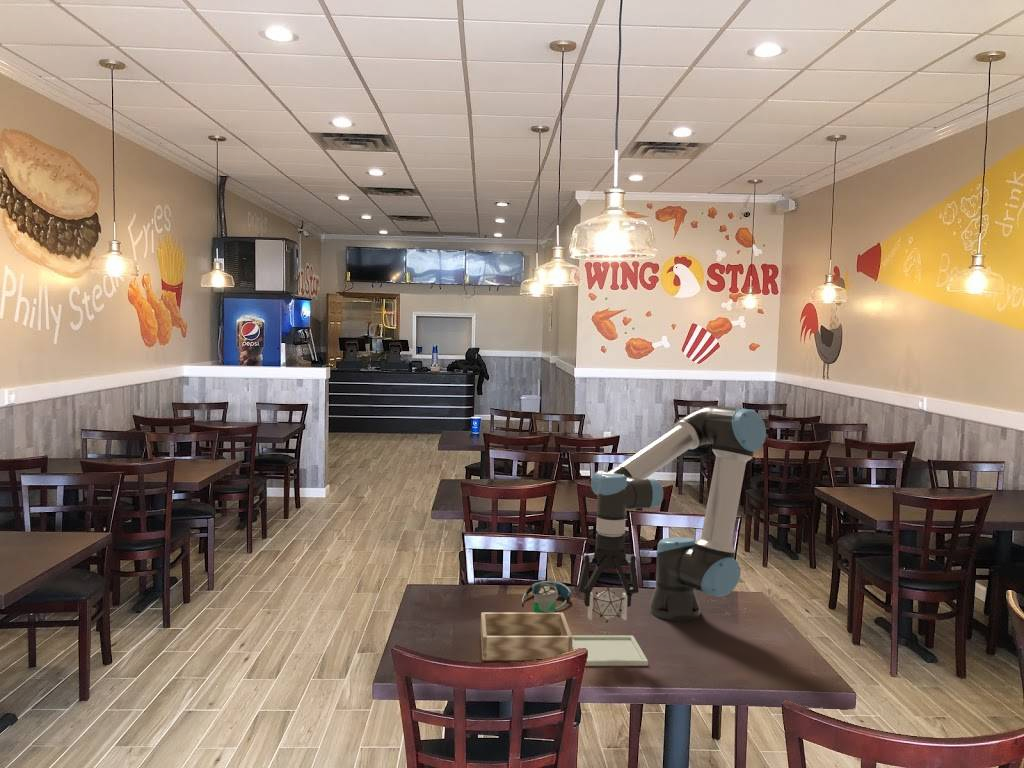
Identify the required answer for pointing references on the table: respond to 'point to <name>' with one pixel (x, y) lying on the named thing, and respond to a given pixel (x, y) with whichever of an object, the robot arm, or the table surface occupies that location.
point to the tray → (610, 650)
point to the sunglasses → (561, 588)
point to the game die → (607, 604)
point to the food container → (545, 599)
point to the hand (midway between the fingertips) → (606, 618)
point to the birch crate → (524, 644)
